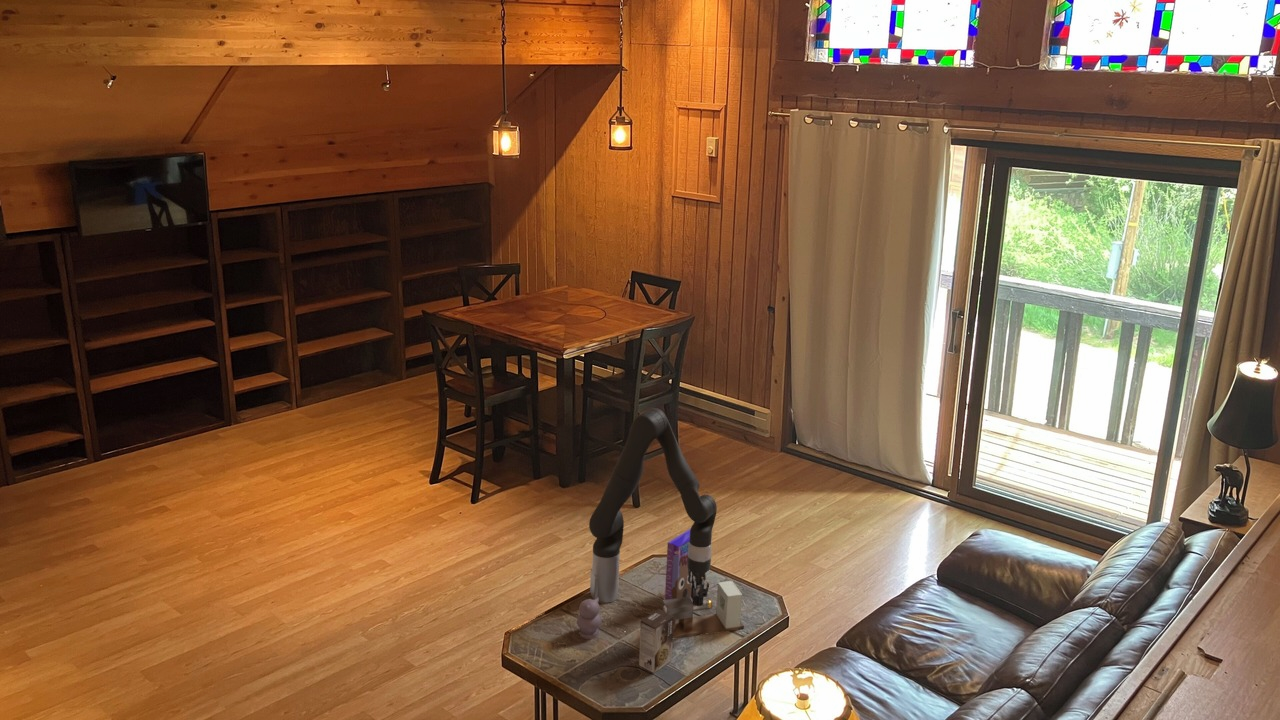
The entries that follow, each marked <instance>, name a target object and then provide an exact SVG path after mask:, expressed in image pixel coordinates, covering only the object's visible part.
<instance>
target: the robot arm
mask: <svg viewBox="0 0 1280 720" xmlns="http://www.w3.org/2000/svg"><path fill="white" fill-rule="evenodd" d="M626 439H627V440H626V443H625V445H624V447H623V450H622V451H621V453H620V455H619V457H618V460H617V462H616V464H615V466H614V469H613V470H612V473H611V474H610V475H611V476H610V478H609V479H608V483H607V485H606V487H605V489H604V492H603V494H602V497H601V498H600V501H599V502H598V505H597V506H596V508H595V509H594V511H593V513H592V514H591V516H590V519H589V522H588V524H589V525H588V526H589V531H590V533H591V535H592V536H593V537H595V538H596V539H595V541H594V542H593V545H592V568H591V569H590V582H589V583H590V586H589V587H590V589H589V591H590V596H591V597H592V598H591V599H593V600H595V599H597V598H599V600H598V603H604V604H605V603H607V604H608V603H611V602H615V601H617V599H618V598H619V591H620V590H619V581H620V555H621V553H620V552H621V551H620V549H621V548H622V545H623V541H624V539H623V538H624V526H625V525H624V523H625V522H624V516H623V513H622V511H621V508H622V507H624V505H625V503H626V502H627V501H628V500H629V499H630V497H631V496H632V495H633V494H634V492H635V490H636V488H637V487H638V485H639V483H640V480H641V478H642V476H643V473H644V459H645V455H646V453H647V450H648V449H649V447H650V446H651V444H652V443H653V441H654V440H656V441H657V442H658V443H659V445H660V447H661V450H662V451H663V455H664V460H665V463H666V469H667V472H668V474H669V477H670V479H671V481H672V482H673V484H674V486H675V488H676V489H677V490H678V493H679V494H680V498H681V501H682V503H683V507H684V509H685V513H686V514H687V516H688V517H689V519H690V520H691V521H692V522H693V524H692V525H691V527H690V528H689V529H690V542H689V547H688V563H687V567H688V576H689V583H691V585H690V586H691V598H692V596H693V587H695V589H696V605H697V606H702V605H703V600H704V598H707V596H708V592H709V587H710V583H709V582H706V580H707V575H706V573H707V572H709V571H710V570H711V566H712V565H711V564H712V563H711V562H712V539H713V538H712V537H713V535H712V534H713V533H712V532H713V527H714V524H715V521H716V520H715V519H716V516H717V512H718V511H717V510H718V508H717V507H718V506H717V502H716V500H715V499H714V497H712V496H711V495H709V494H702V495H700V494H699V489H700V486H701V485H700V482H699V480H698V478H697V477H696V475H695V473H694V472H693V470H692V468H691V467H690V465H689V463H688V462H687V460H686V458H685V456H684V454H683V452H682V450H681V447H680V445H679V443H678V440H677V438H676V435H675V433H674V430H673V429H672V426H671V424H670V421H669V419H668V417H667V415H666V414H665V412H664V411H663V410H662V409H660V408H657V407H651V408H648V409H646V410H644V411H643V412H641V413H639V414H638V415H637V416H636V417H635V418H634V419H633V422H632V423H631V426H630V428H629V433H628V437H627V438H626ZM699 585H700V586H699ZM699 589H700V590H699Z"/></svg>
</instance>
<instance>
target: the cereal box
mask: <svg viewBox="0 0 1280 720" xmlns="http://www.w3.org/2000/svg"><path fill="white" fill-rule="evenodd" d="M690 529H691V528H689V529H687V530H685V531H684V532H683V533H681V534H680V535H677V536H676V537H674V538H673V539H671V540H669V541H668V542H667V547H666V548H667V549H666V550H667V551H666V567H665V569H666V570H665V587H664V588H665V589H664V590H665V591H664V594H665V595H664V600H667V599H675V598H683V597H689V598H690V599H691V600H692V598H691V586H690V585H691V583H689V576H688V567H687V563H688V547H689V542H690ZM699 586H700V585H699Z"/></svg>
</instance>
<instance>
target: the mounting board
mask: <svg viewBox="0 0 1280 720" xmlns="http://www.w3.org/2000/svg"><path fill="white" fill-rule="evenodd" d="M664 606H666V608H667V613H668V614H669V615H672V616H674V621H673V638H674V639H680V637H681V638H687V637H694V635H695V636H701V635H700V634H702V635H706V633H709V634H715V632H716V633H722V632H723V633H724V632H730V631H737V630H743V629H745V625H744V624H743V622H742V621H741V620H740V627H733V628H725V627H724V625H723V624H722V622H721V621H720V619H719V618H718V616H717V615H716V613H715V614H713V613H712V614H706V615H699V616H694V611H693V607H694V604H693V601H692V599H690V598H689V597H683V598H675V599H667V600H665V599H662V608H661V609H662V611H663V607H664ZM686 636H687V637H686ZM678 637H679V638H678Z"/></svg>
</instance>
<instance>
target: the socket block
mask: <svg viewBox="0 0 1280 720" xmlns="http://www.w3.org/2000/svg"><path fill="white" fill-rule="evenodd" d="M716 593H717V594H716V607H715V614H716V615H717V616H718V618H719V619H720V621H721V622H722V624H723V625H724V627H725V628H733V627H740V621H741V617H742V615H741V613H742V602H743V601H742V600H743V594H742V592H741V591H740V590H739V588H738V587H737V585H736V584H735V583H734V582H733V580H729V581H728V580H727V581H721V582H717V592H716Z"/></svg>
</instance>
